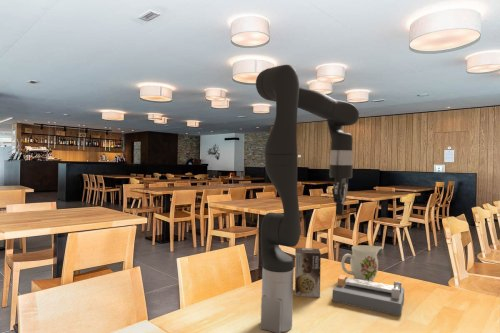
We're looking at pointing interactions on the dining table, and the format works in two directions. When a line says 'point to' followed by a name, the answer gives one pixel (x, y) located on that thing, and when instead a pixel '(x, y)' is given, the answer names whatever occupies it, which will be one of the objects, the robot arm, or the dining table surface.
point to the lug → (342, 280)
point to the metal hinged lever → (371, 285)
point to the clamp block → (371, 298)
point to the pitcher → (363, 262)
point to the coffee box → (307, 272)
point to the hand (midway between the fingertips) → (339, 214)
